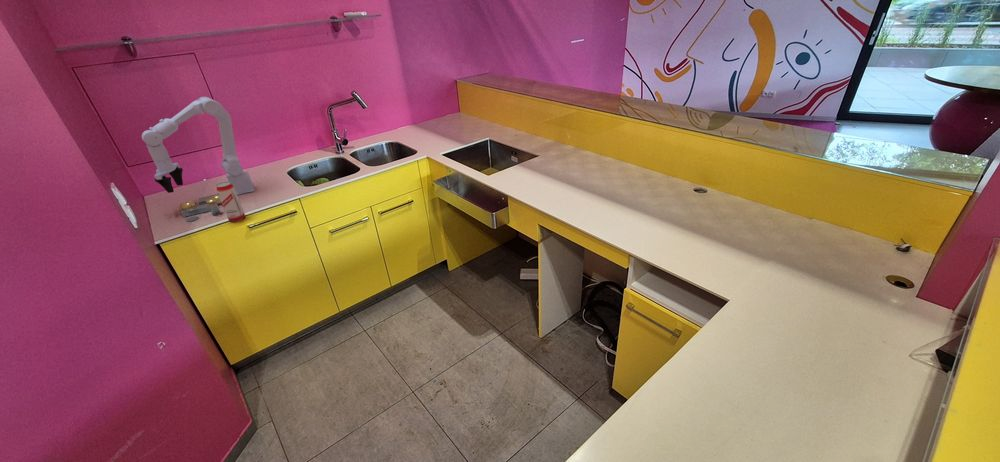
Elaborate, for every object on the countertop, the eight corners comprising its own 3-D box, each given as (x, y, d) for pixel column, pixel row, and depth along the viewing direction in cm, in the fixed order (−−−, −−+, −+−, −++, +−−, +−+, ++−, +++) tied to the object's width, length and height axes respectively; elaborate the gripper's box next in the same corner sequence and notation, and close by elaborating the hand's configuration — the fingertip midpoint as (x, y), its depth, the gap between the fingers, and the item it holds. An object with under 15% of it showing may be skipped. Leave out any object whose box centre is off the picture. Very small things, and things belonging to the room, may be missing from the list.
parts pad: (198, 216, 181) (198, 215, 180) (198, 220, 177) (198, 219, 177) (186, 218, 179) (186, 218, 178) (186, 223, 175) (185, 222, 175)
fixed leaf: (225, 196, 198) (221, 188, 196) (225, 204, 190) (222, 195, 188) (200, 201, 193) (196, 193, 191) (200, 210, 186) (196, 201, 184)
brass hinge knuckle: (210, 204, 190) (206, 196, 188) (210, 210, 184) (206, 202, 182) (184, 209, 186) (180, 201, 184) (183, 216, 180) (179, 208, 178)
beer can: (233, 216, 179) (219, 181, 171) (248, 215, 180) (235, 180, 172) (226, 223, 174) (211, 187, 166) (241, 221, 174) (227, 186, 166)
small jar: (222, 210, 184) (216, 196, 181) (222, 214, 181) (216, 200, 178) (211, 213, 183) (205, 199, 179) (211, 216, 180) (205, 202, 176)
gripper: (161, 154, 182) (174, 182, 189) (141, 166, 169) (156, 196, 176) (178, 152, 183) (191, 181, 189) (159, 164, 170) (174, 194, 177)
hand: (175, 188), depth 183 cm, fingers open, 7 cm apart
